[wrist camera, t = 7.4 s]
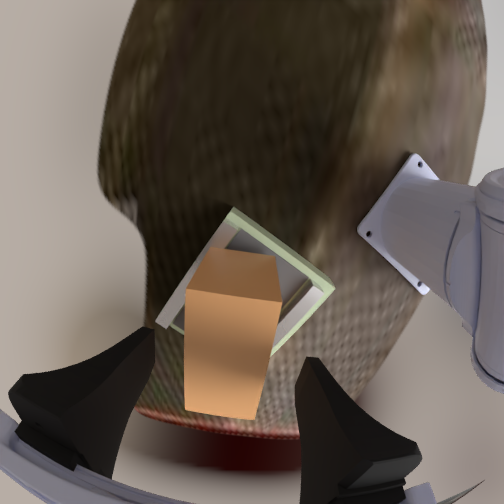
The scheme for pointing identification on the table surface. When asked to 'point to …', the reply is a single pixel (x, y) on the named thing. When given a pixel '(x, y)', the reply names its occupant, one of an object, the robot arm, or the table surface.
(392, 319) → the table surface
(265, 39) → the table surface
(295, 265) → the green rimmed tray
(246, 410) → the tan tapered column
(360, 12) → the table surface
